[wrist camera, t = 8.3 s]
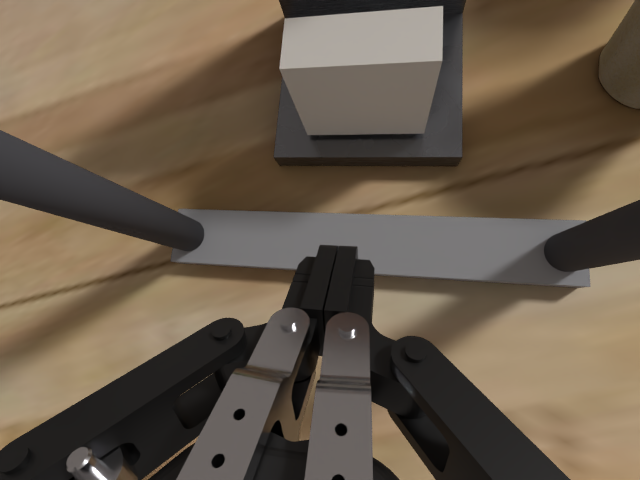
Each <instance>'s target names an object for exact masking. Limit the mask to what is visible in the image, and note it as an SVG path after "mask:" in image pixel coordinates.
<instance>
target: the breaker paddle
mask: <svg viewBox="0 0 640 480" xmlns="http://www.w3.org/2000/svg"><path fill="white" fill-rule="evenodd" d="M442 54H443V6H436V7H423V8H410V9H398V10H385V11H373V12H360V13H348V14H335V15H323V16H310V17H298V18H285V21H284V31H283V40H282V49H281V58H280V67H279V70H280V72H281V74H282V77H283V79H284V81H285V84H286V86H287V88H288V91H289V93H290V95H291V98H292V100H293V102H294V105H295V107H296V109H297V112H298V114H299V116H300V119H301V121H302V123H303V126H304V128H305V130H306V133H307V135H357V134H424V132H425V128H426V124H427V120H428V116H429V112H430V108H431V104H432V100H433V96H434V92H435V88H436V84H437V80H438V76H439V72H440V68H441V64H442Z"/></svg>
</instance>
